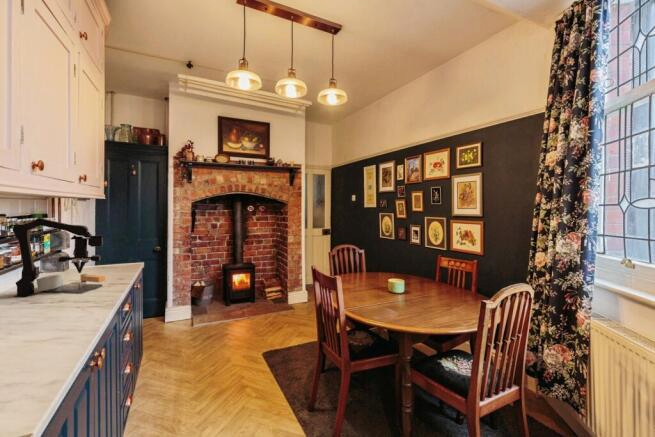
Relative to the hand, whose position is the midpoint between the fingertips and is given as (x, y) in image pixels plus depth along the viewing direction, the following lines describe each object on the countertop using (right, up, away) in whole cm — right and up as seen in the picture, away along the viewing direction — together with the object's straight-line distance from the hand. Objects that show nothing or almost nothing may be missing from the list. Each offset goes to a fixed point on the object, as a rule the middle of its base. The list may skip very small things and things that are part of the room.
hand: (79, 273), depth 176 cm
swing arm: (+2, -6, +7) cm, 9 cm away
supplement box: (-20, -6, +6) cm, 22 cm away
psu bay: (-4, -10, +2) cm, 11 cm away
